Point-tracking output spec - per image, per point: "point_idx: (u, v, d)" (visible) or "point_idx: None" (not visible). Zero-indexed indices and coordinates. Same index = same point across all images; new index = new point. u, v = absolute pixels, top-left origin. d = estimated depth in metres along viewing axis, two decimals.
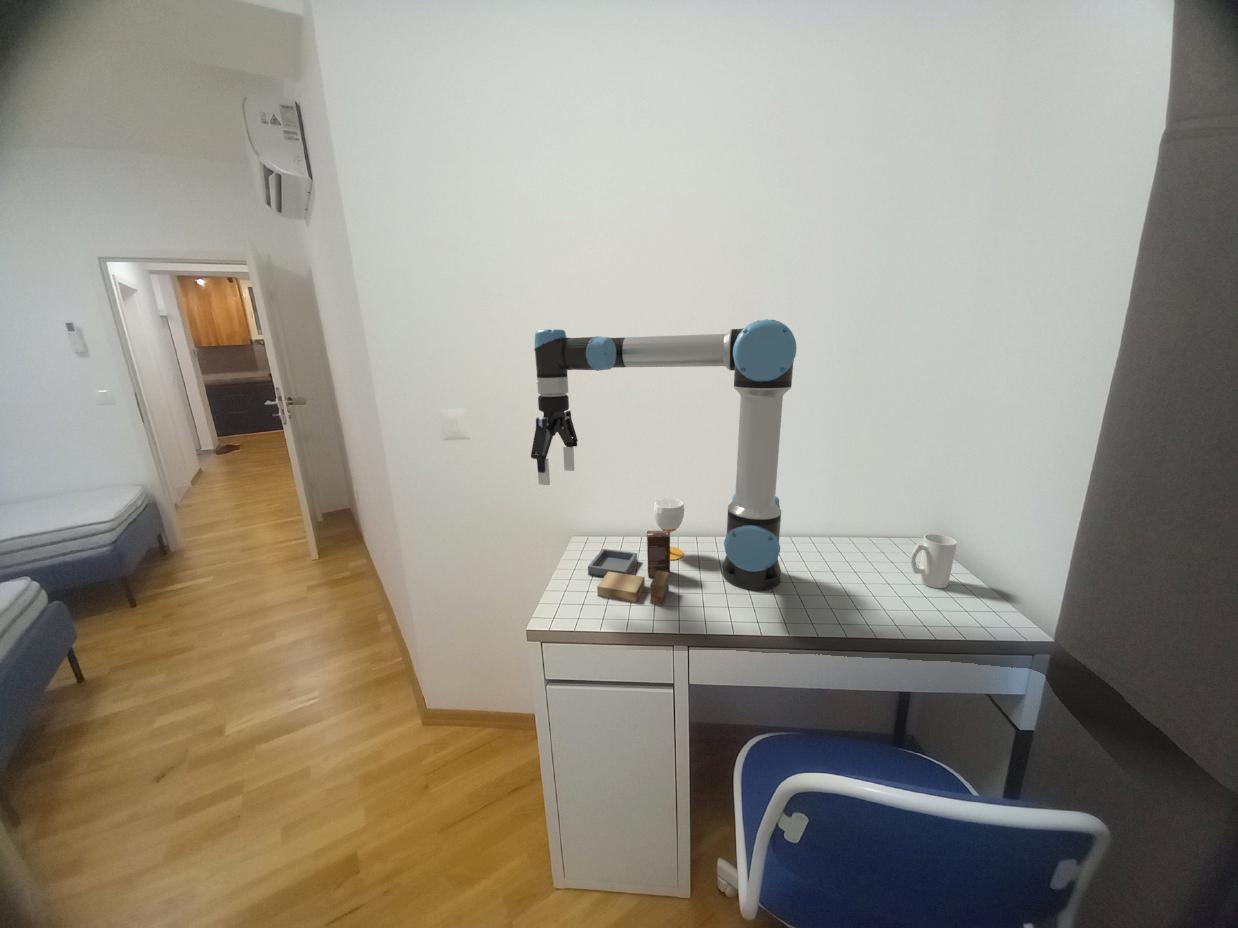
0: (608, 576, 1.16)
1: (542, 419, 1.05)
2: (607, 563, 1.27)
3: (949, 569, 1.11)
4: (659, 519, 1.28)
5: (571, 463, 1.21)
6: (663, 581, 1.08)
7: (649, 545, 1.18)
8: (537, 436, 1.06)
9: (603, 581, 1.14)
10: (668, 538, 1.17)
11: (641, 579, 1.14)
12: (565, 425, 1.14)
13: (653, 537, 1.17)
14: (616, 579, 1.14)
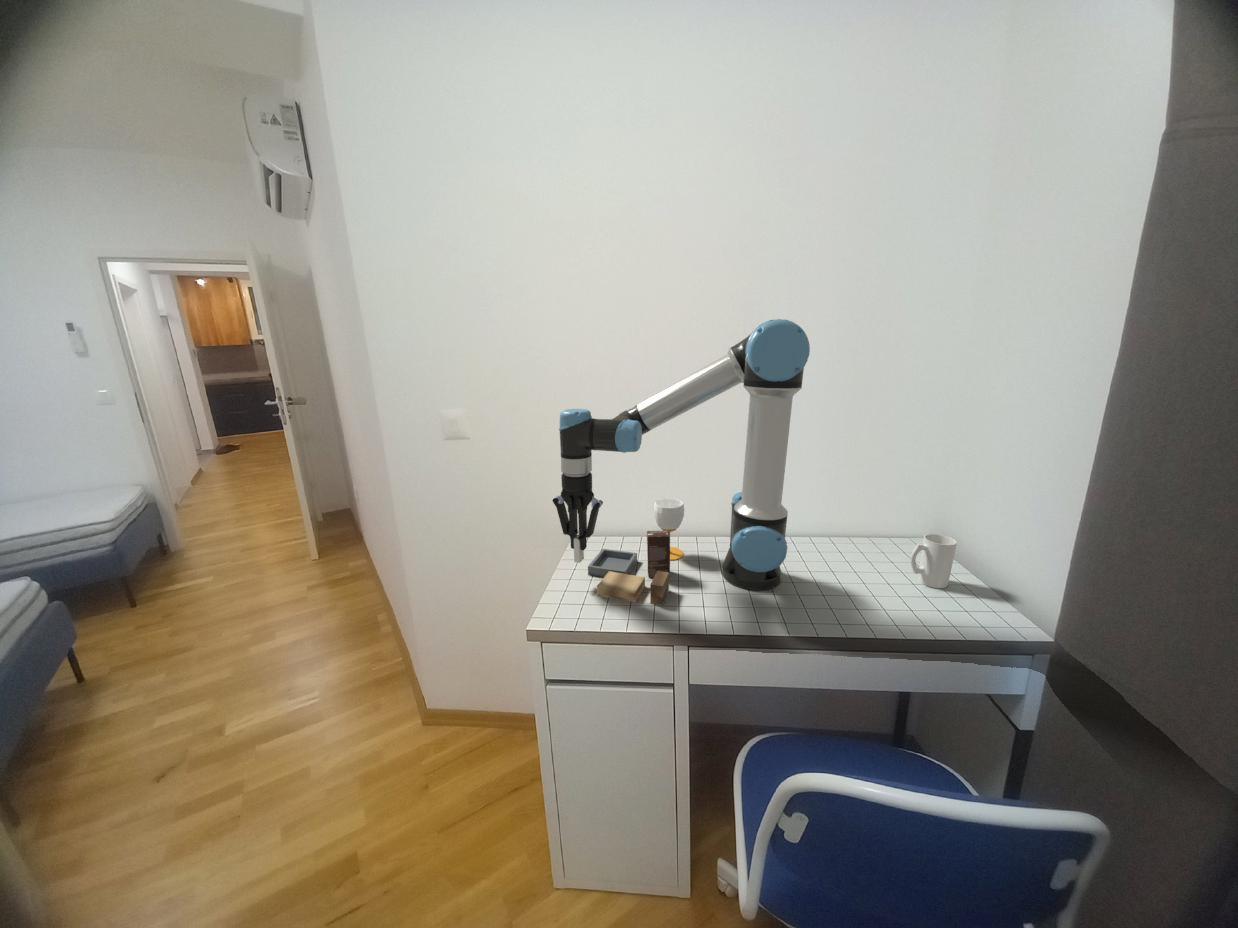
0: (608, 576, 1.16)
1: None
2: (607, 563, 1.27)
3: (949, 569, 1.11)
4: (659, 519, 1.28)
5: None
6: (663, 581, 1.08)
7: (649, 545, 1.18)
8: None
9: (603, 580, 1.14)
10: (668, 538, 1.17)
11: (641, 579, 1.14)
12: (579, 507, 1.10)
13: (653, 537, 1.17)
14: (616, 579, 1.14)
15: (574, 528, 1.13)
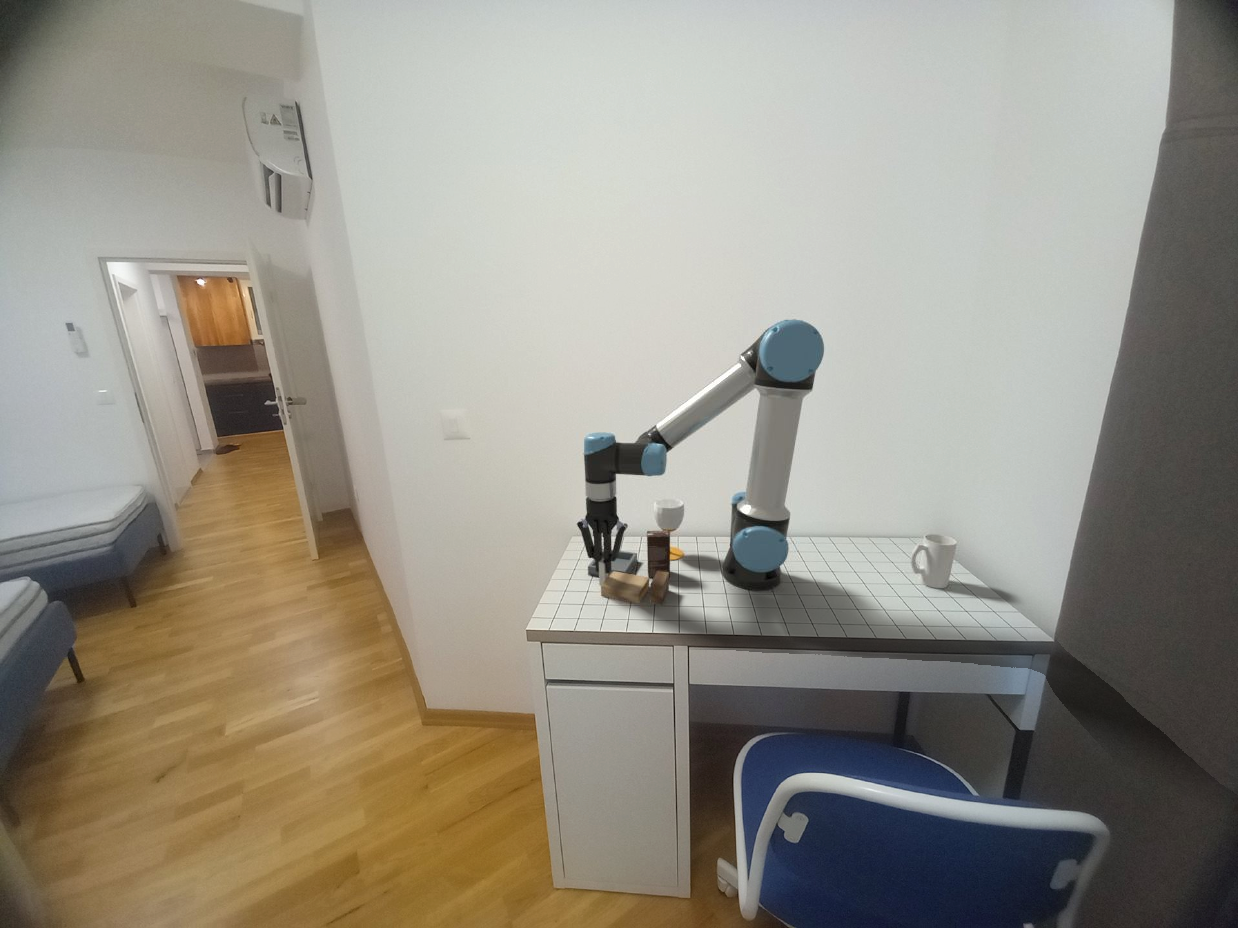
0: (612, 576, 1.16)
1: None
2: None
3: (949, 569, 1.11)
4: (659, 519, 1.28)
5: None
6: (663, 581, 1.08)
7: (649, 545, 1.18)
8: None
9: (607, 580, 1.13)
10: (668, 538, 1.17)
11: (645, 579, 1.13)
12: (604, 531, 1.09)
13: (653, 537, 1.17)
14: (620, 579, 1.14)
15: (599, 551, 1.12)
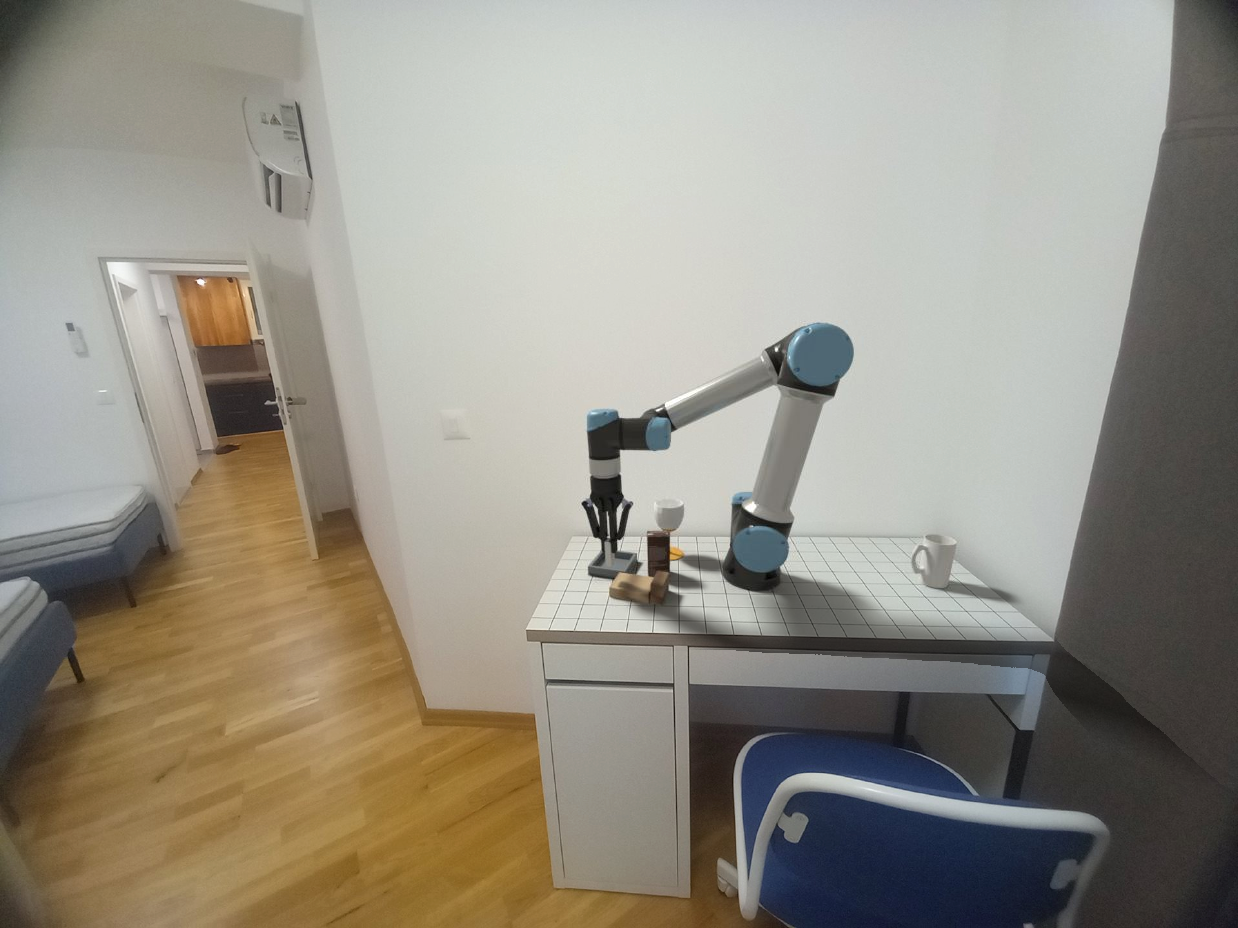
0: (619, 577, 1.15)
1: None
2: None
3: (949, 569, 1.11)
4: (659, 519, 1.28)
5: None
6: (663, 581, 1.08)
7: (649, 545, 1.18)
8: None
9: (615, 581, 1.13)
10: (668, 538, 1.17)
11: None
12: (609, 510, 1.07)
13: (653, 537, 1.17)
14: (628, 580, 1.14)
15: (604, 531, 1.10)
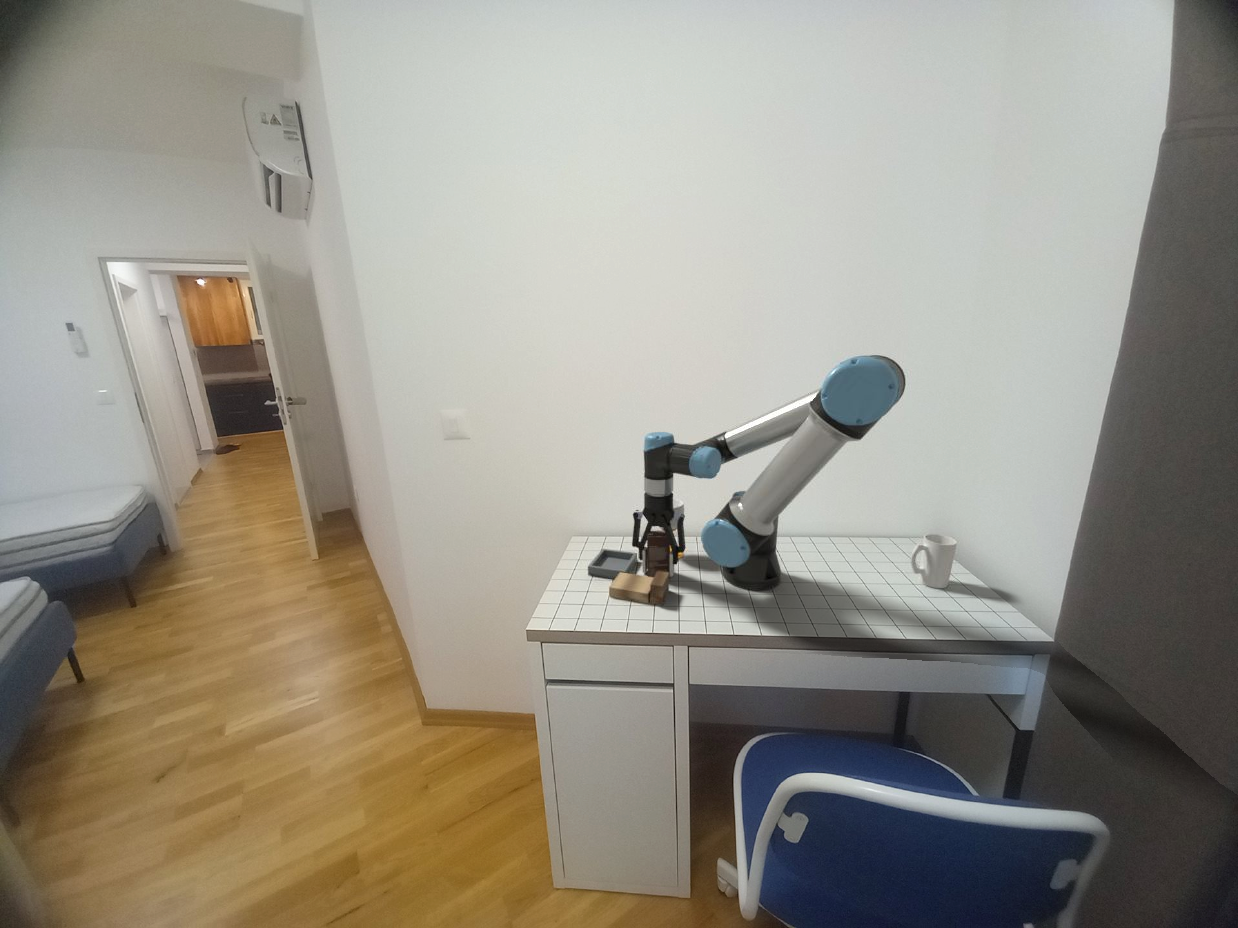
0: (619, 577, 1.15)
1: None
2: (607, 563, 1.27)
3: (949, 569, 1.11)
4: None
5: None
6: (663, 581, 1.08)
7: (649, 545, 1.18)
8: None
9: (615, 581, 1.13)
10: None
11: None
12: (664, 525, 1.16)
13: (653, 537, 1.17)
14: (628, 580, 1.14)
15: (645, 542, 1.20)
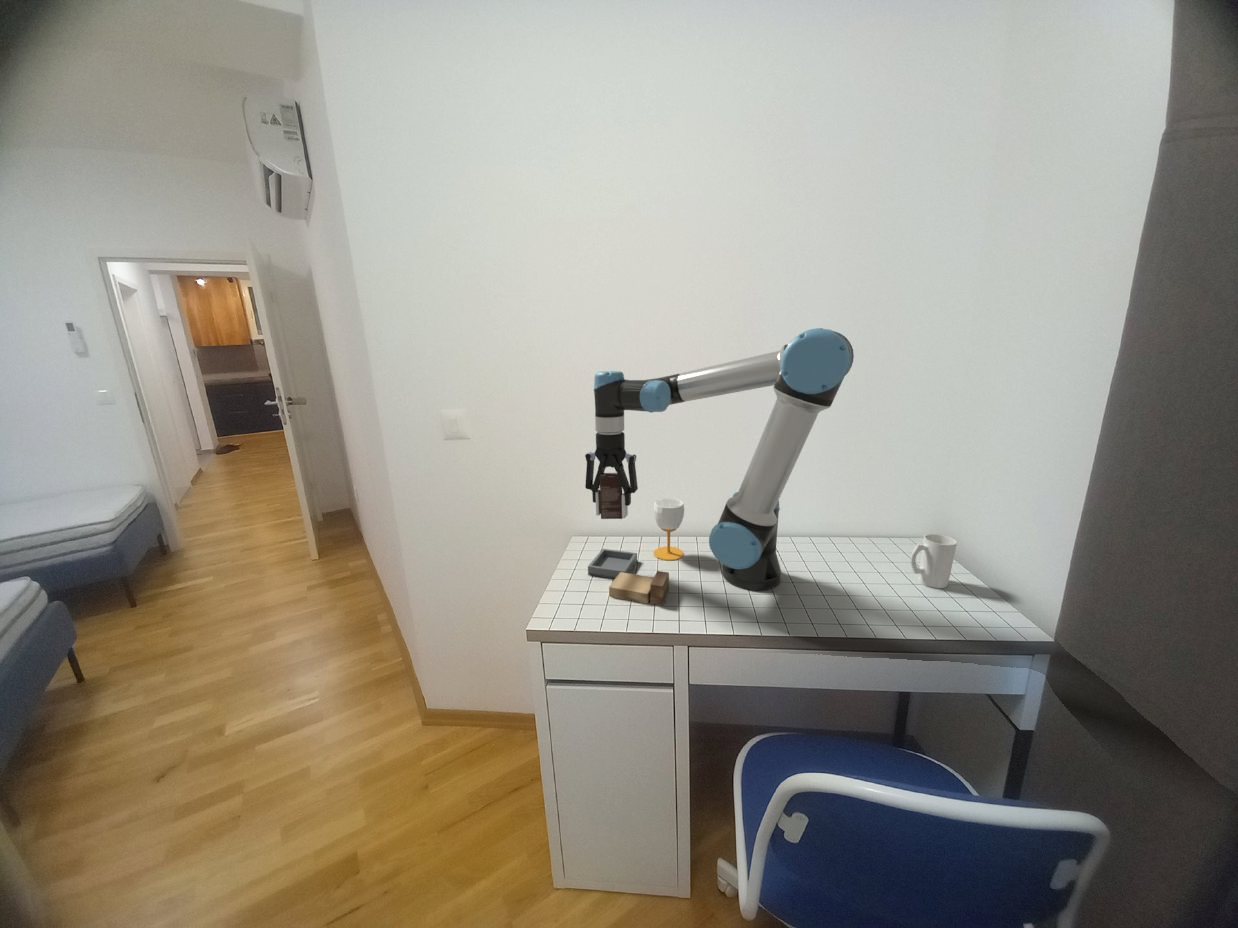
0: (620, 577, 1.15)
1: None
2: (607, 563, 1.27)
3: (949, 569, 1.11)
4: (659, 519, 1.28)
5: None
6: (663, 581, 1.08)
7: (601, 486, 1.18)
8: None
9: (615, 581, 1.13)
10: None
11: None
12: (615, 465, 1.16)
13: (605, 478, 1.17)
14: (628, 580, 1.14)
15: (598, 484, 1.20)
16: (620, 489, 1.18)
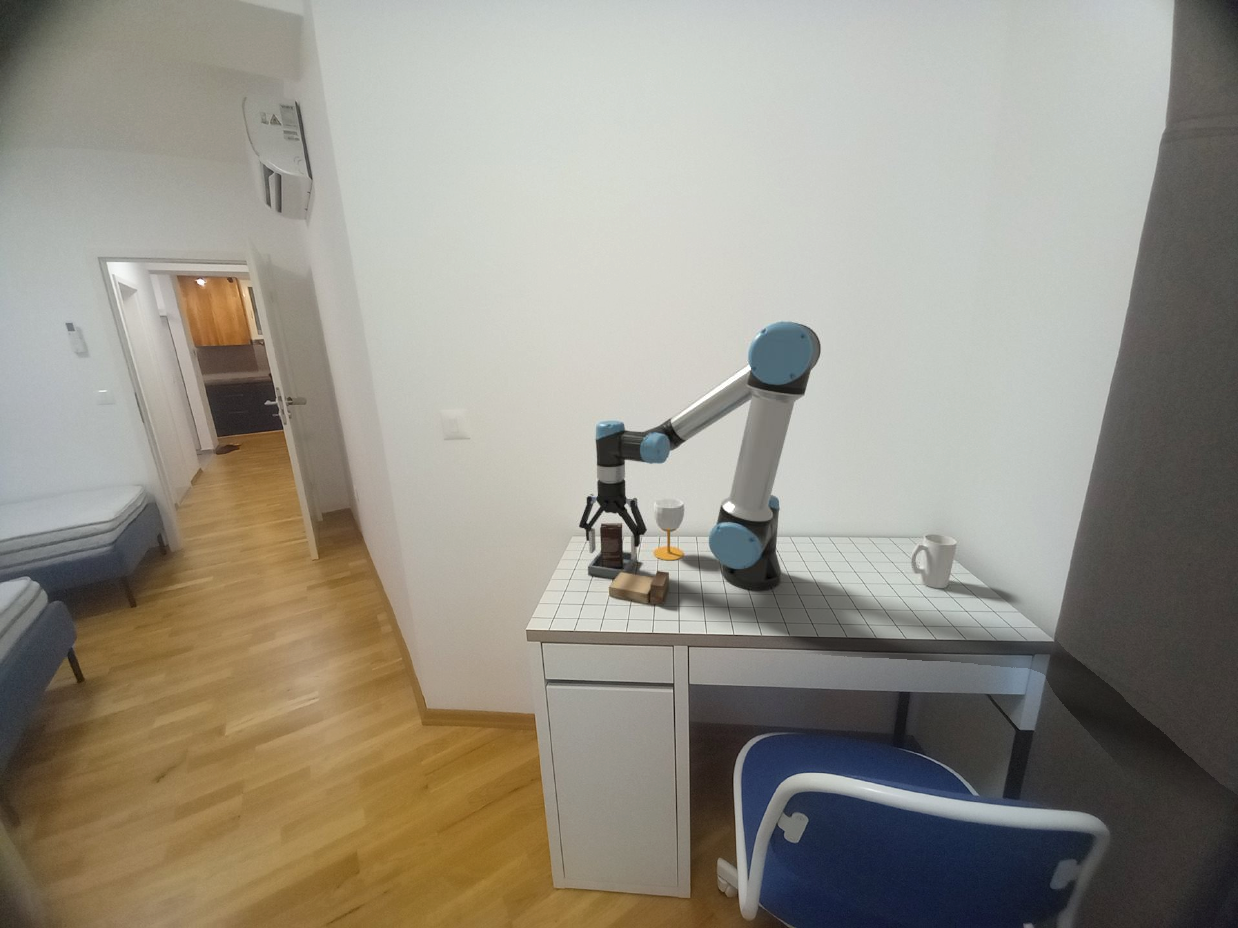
0: (620, 577, 1.15)
1: None
2: None
3: (949, 569, 1.11)
4: (659, 519, 1.28)
5: None
6: (663, 581, 1.08)
7: (602, 537, 1.22)
8: None
9: (615, 581, 1.13)
10: (620, 530, 1.21)
11: None
12: (618, 510, 1.19)
13: (605, 529, 1.21)
14: (628, 580, 1.14)
15: (592, 524, 1.24)
16: (620, 540, 1.22)
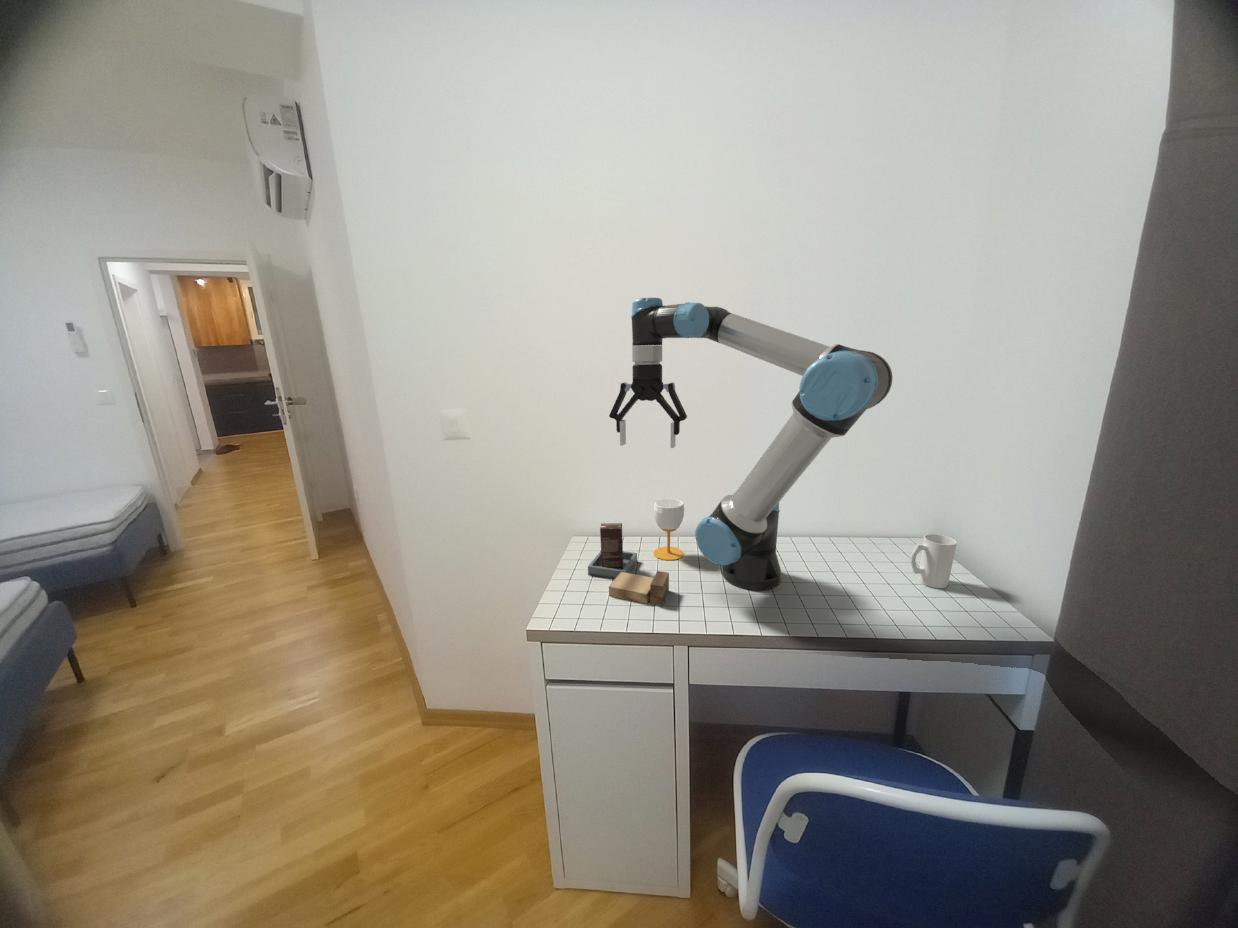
0: (620, 576, 1.15)
1: None
2: None
3: (949, 569, 1.11)
4: (659, 519, 1.28)
5: None
6: (663, 581, 1.08)
7: (602, 537, 1.22)
8: None
9: (615, 581, 1.13)
10: (620, 530, 1.21)
11: None
12: (655, 396, 1.12)
13: (606, 529, 1.21)
14: (628, 580, 1.14)
15: (624, 414, 1.17)
16: (620, 540, 1.22)
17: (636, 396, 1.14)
